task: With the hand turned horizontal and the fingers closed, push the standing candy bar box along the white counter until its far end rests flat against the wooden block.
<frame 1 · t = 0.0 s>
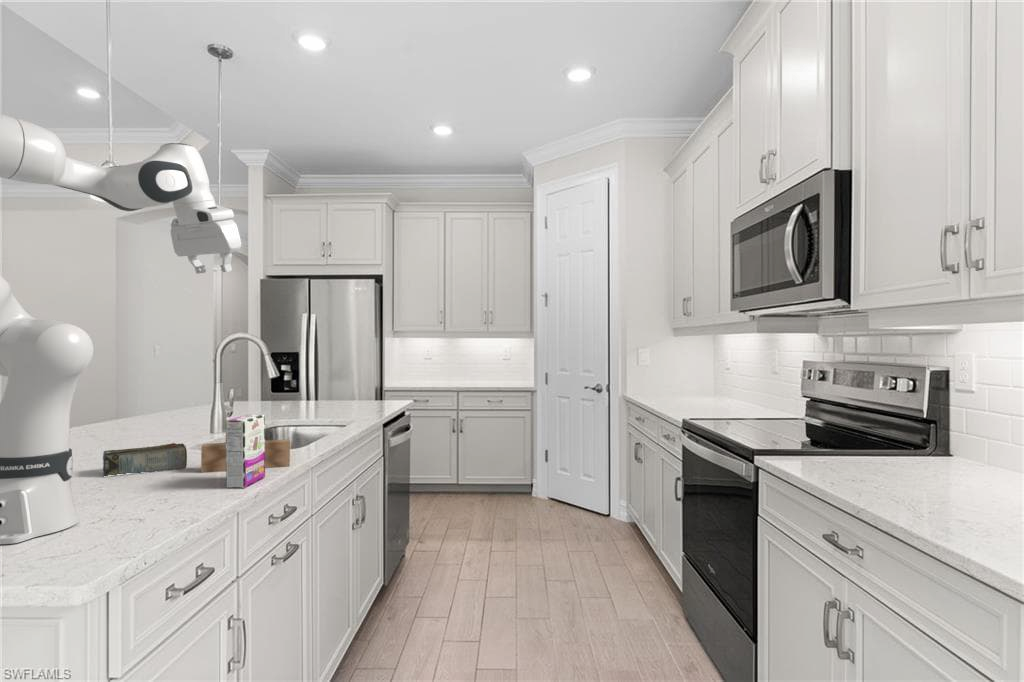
hand: (214, 272, 142), 52 cm above the countertop, tool tilted 20°, fingers open, 8 cm apart
beverage carton: (145, 471, 157), on the countertop
wooden block: (246, 467, 160), on the countertop
candy bar box: (245, 483, 144), on the countertop
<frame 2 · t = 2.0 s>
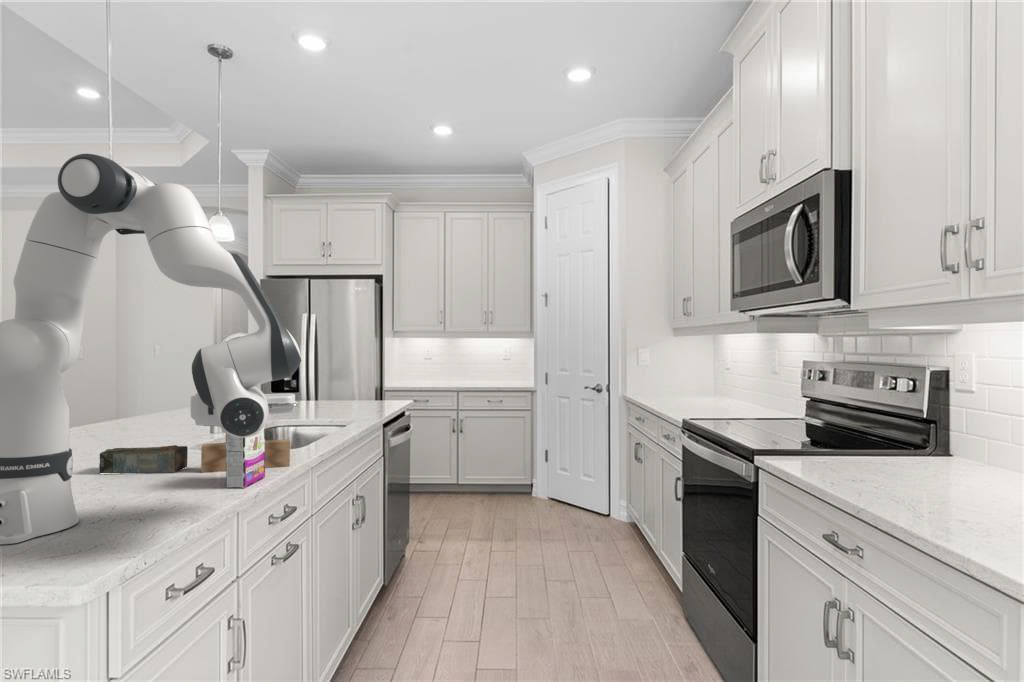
hand: (245, 400, 128), 22 cm above the countertop, tool horizontal, fingers open, 6 cm apart
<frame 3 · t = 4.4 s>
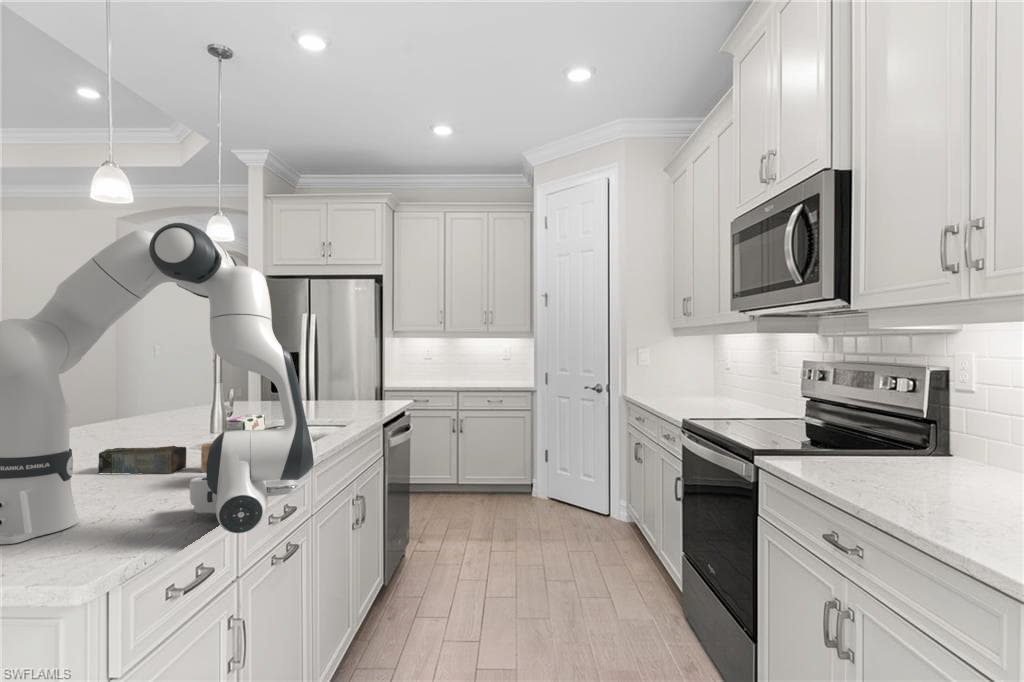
hand: (244, 477, 129), 5 cm above the countertop, tool horizontal, fingers closed
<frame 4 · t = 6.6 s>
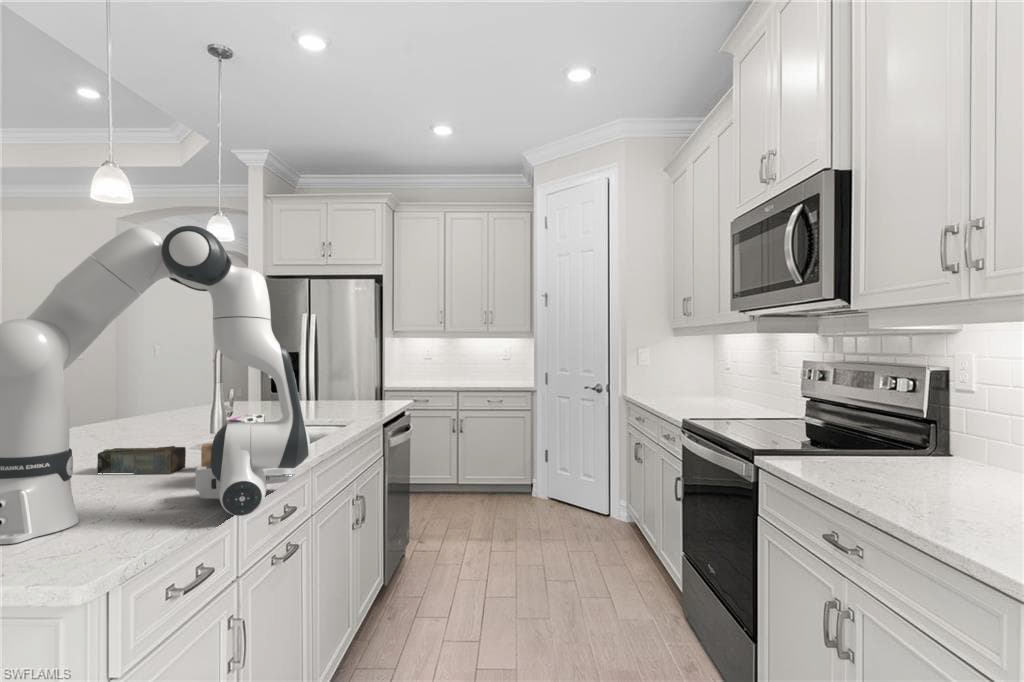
hand: (245, 467, 139), 5 cm above the countertop, tool horizontal, fingers closed
candy bar box: (245, 483, 144), on the countertop, touching gripper
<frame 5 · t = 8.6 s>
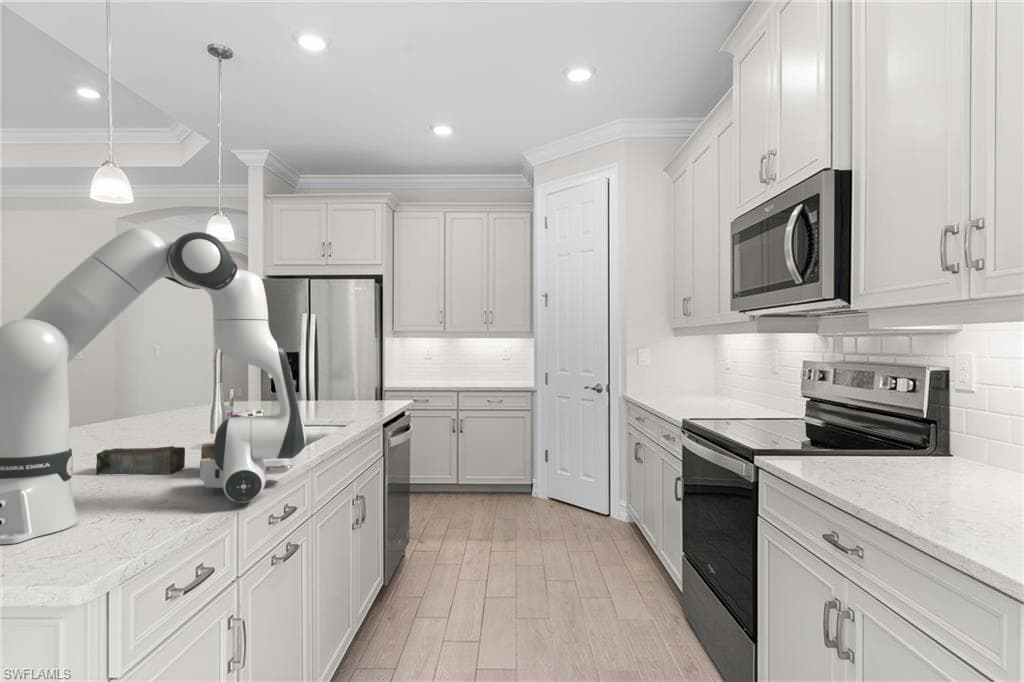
hand: (246, 459, 148), 5 cm above the countertop, tool horizontal, fingers closed
candy bar box: (245, 474, 153), on the countertop, touching wooden block, gripper
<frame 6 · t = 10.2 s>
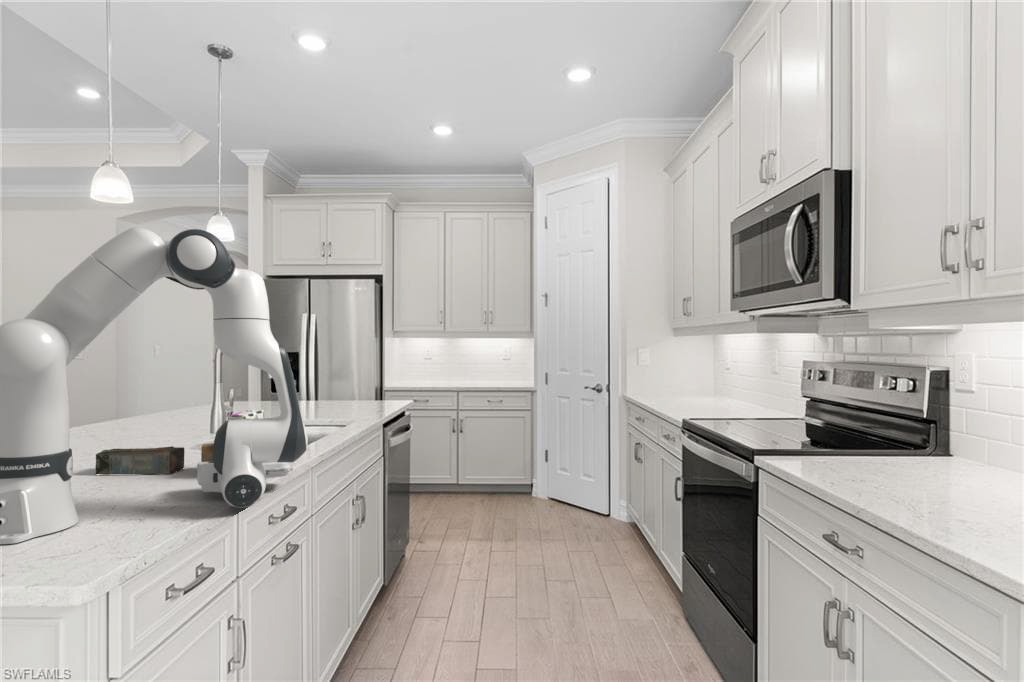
hand: (245, 462, 144), 5 cm above the countertop, tool horizontal, fingers closed
candy bar box: (246, 474, 153), on the countertop
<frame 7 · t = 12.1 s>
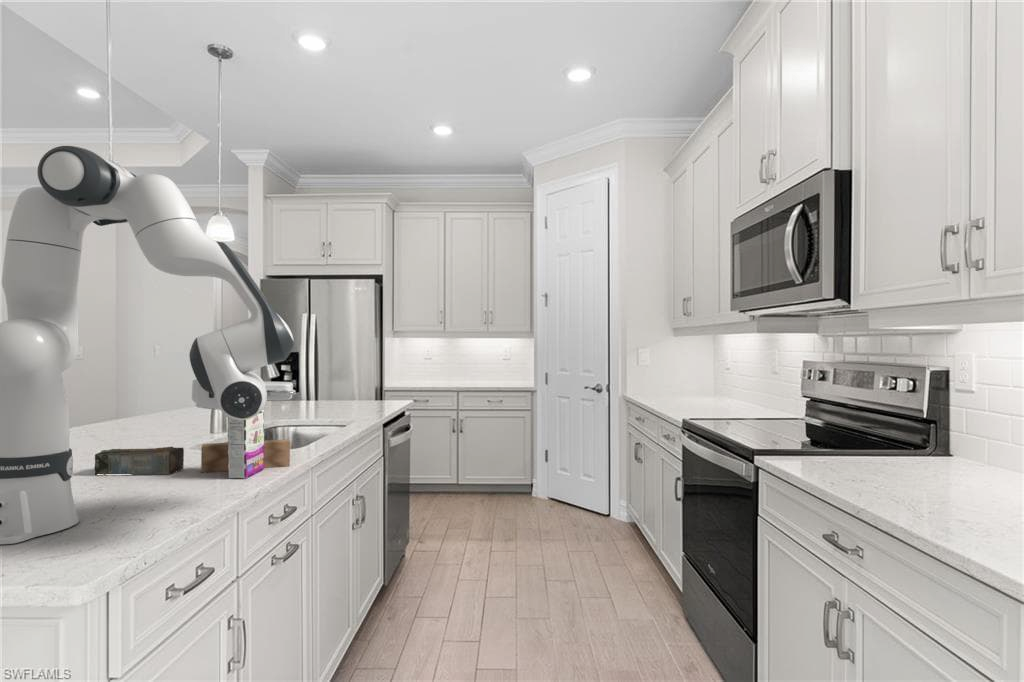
hand: (244, 387, 133), 25 cm above the countertop, tool horizontal, fingers closed
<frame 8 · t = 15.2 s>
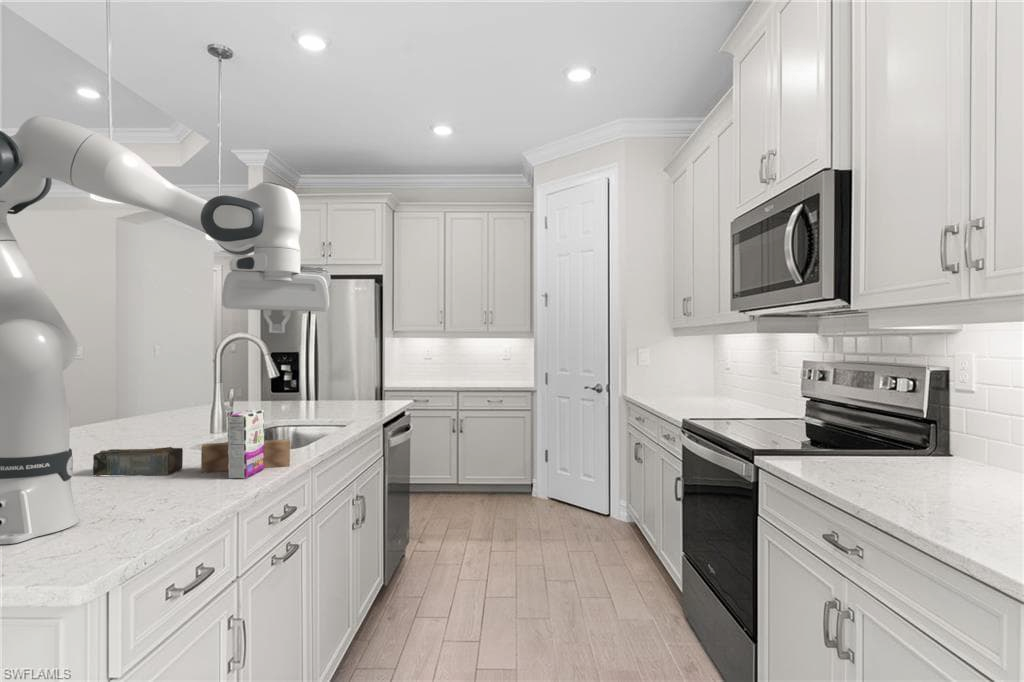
hand: (276, 332, 118), 37 cm above the countertop, tool pointing down, fingers closed
at the end: candy bar box inside the target area on the countertop beside the wooden block (0.7 cm from its centre), on the countertop; candy bar box tilted 0° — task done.
